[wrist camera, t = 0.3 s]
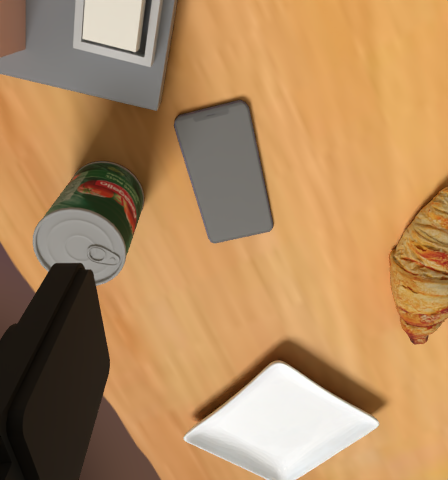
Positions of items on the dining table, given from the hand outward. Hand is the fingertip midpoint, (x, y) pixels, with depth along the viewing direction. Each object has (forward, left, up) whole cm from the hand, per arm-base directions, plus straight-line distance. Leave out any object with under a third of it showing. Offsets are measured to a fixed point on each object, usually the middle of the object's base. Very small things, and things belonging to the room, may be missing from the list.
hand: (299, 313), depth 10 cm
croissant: (+16, +28, -35) cm, 47 cm away
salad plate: (+47, +19, -35) cm, 62 cm away
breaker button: (-2, -10, -30) cm, 32 cm away
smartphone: (+11, +2, -35) cm, 37 cm away
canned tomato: (+16, -10, -35) cm, 40 cm away
